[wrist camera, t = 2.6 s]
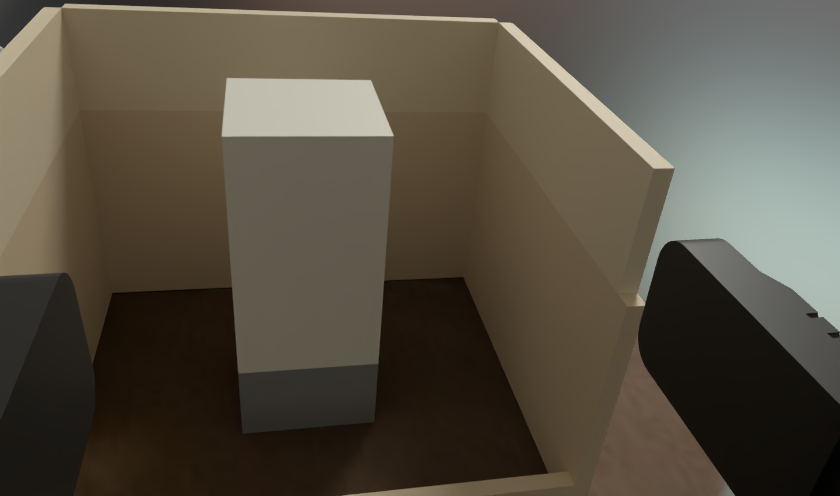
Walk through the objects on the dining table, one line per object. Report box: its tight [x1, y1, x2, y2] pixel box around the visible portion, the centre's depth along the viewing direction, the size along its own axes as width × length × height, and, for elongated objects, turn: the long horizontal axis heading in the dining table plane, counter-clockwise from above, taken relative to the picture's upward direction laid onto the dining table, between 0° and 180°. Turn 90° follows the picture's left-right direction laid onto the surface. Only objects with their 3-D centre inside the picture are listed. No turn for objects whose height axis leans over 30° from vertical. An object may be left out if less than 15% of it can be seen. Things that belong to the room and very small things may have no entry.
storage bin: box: [0, 4, 675, 496], centre depth 26 cm, size 18×15×13 cm
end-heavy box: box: [222, 78, 394, 434], centre depth 26 cm, size 5×5×12 cm
